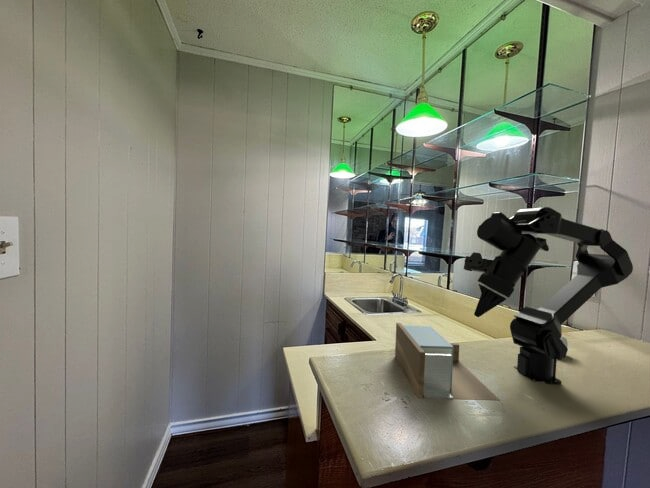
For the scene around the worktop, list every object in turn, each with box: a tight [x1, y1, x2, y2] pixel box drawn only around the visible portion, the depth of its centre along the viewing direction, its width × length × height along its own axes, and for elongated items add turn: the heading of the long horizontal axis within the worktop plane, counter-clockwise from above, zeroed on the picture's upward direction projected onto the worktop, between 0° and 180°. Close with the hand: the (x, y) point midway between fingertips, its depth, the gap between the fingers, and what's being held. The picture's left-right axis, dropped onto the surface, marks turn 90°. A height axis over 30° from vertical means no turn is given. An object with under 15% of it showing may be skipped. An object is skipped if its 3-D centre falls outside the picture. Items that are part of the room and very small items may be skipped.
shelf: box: [394, 322, 501, 401], centre depth 60 cm, size 16×17×10 cm
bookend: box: [423, 353, 454, 400], centre depth 52 cm, size 6×2×8 cm, turn 90°
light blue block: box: [402, 324, 454, 390], centre depth 60 cm, size 7×12×9 cm, turn 0°
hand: (476, 316), depth 62 cm, fingers closed
